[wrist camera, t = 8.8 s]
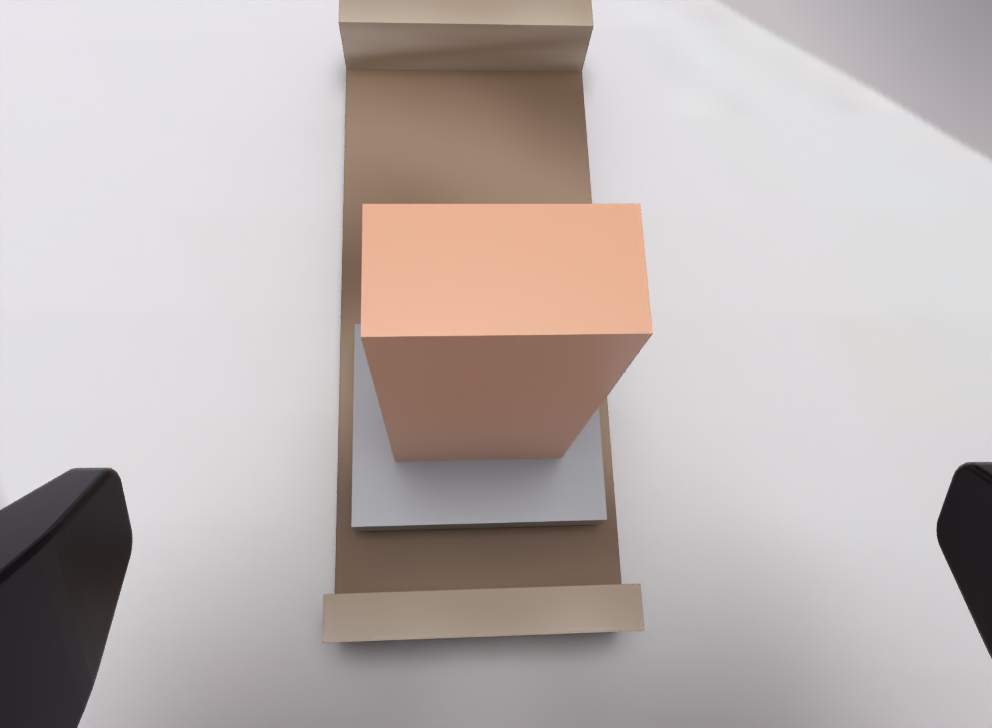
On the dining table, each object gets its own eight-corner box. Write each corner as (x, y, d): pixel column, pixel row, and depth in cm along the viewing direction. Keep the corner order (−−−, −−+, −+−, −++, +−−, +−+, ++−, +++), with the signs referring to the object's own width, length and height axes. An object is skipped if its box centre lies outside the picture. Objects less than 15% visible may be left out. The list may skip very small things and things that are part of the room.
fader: (599, 524, 21) (735, 438, 11) (355, 531, 20) (280, 448, 11) (585, 334, 22) (696, 114, 13) (358, 337, 22) (295, 111, 12)
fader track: (616, 629, 21) (643, 630, 18) (338, 640, 21) (322, 642, 18) (574, 64, 26) (590, -4, 23) (350, 61, 26) (339, -9, 23)
